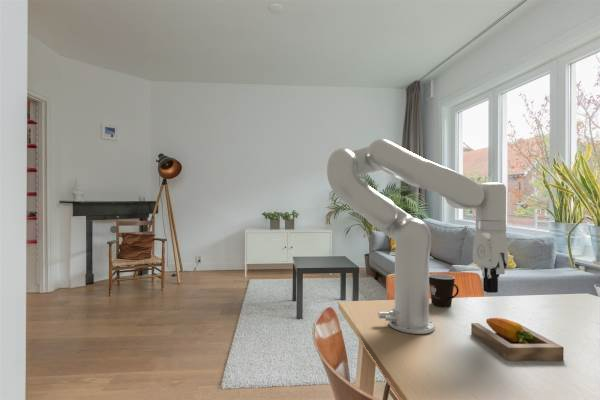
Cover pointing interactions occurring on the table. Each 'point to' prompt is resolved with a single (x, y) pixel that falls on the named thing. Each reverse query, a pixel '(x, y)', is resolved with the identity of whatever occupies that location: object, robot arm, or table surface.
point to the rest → (519, 345)
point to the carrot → (509, 330)
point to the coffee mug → (442, 289)
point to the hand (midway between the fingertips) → (490, 291)
